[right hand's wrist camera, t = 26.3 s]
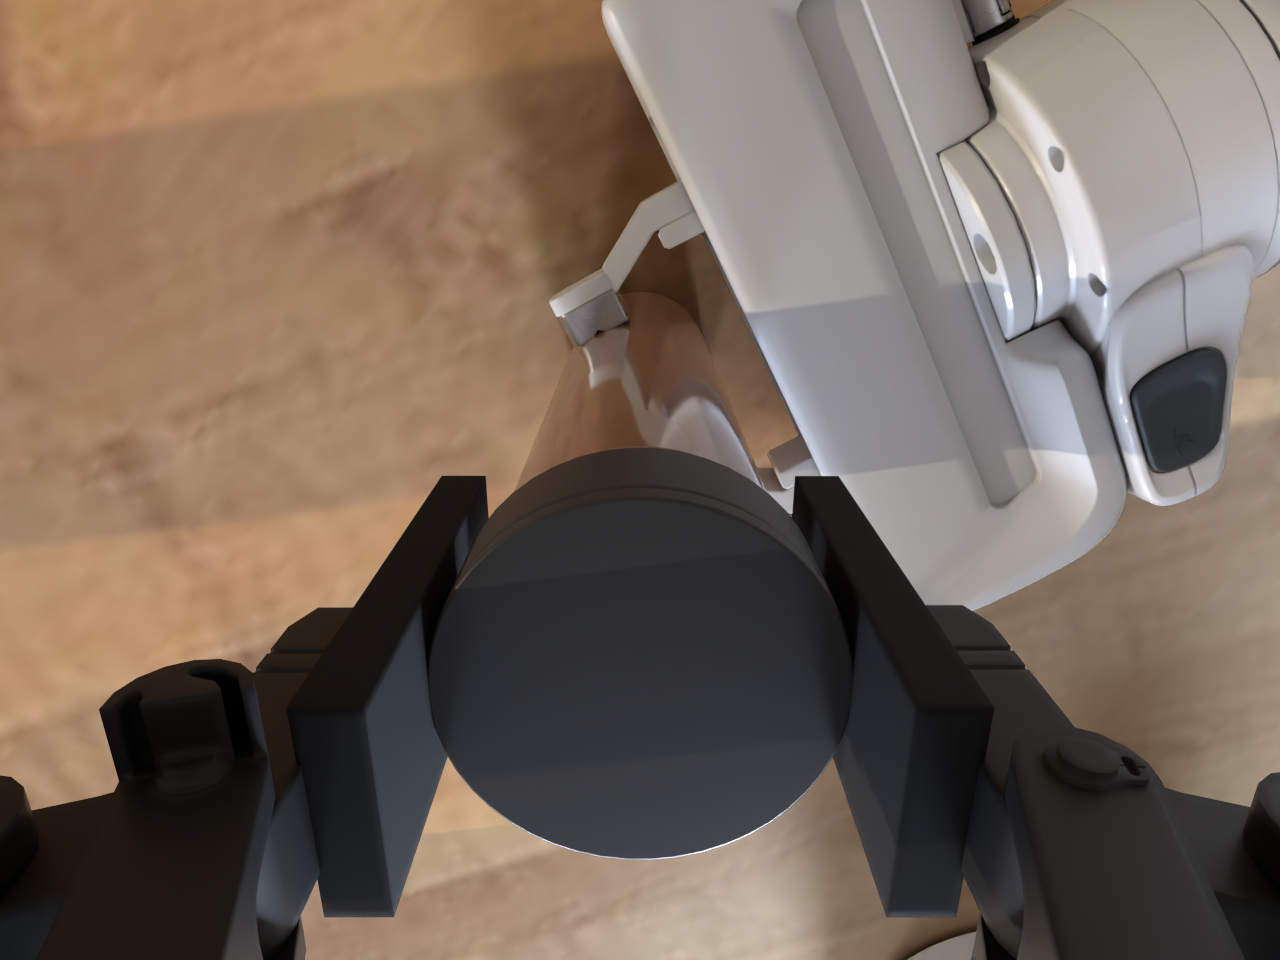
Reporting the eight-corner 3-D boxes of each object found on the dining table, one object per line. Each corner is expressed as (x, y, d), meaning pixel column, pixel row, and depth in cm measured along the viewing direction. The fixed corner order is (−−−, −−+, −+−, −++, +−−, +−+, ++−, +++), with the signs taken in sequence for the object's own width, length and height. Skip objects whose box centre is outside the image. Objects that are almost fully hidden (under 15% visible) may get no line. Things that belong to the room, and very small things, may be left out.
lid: (798, 413, 11) (830, 459, 9) (840, 736, 13) (873, 829, 11) (414, 482, 11) (369, 541, 9) (508, 788, 13) (487, 886, 11)
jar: (733, 341, 29) (889, 611, 11) (657, 446, 31) (682, 842, 12) (622, 264, 28) (588, 416, 10) (548, 375, 30) (400, 691, 11)
